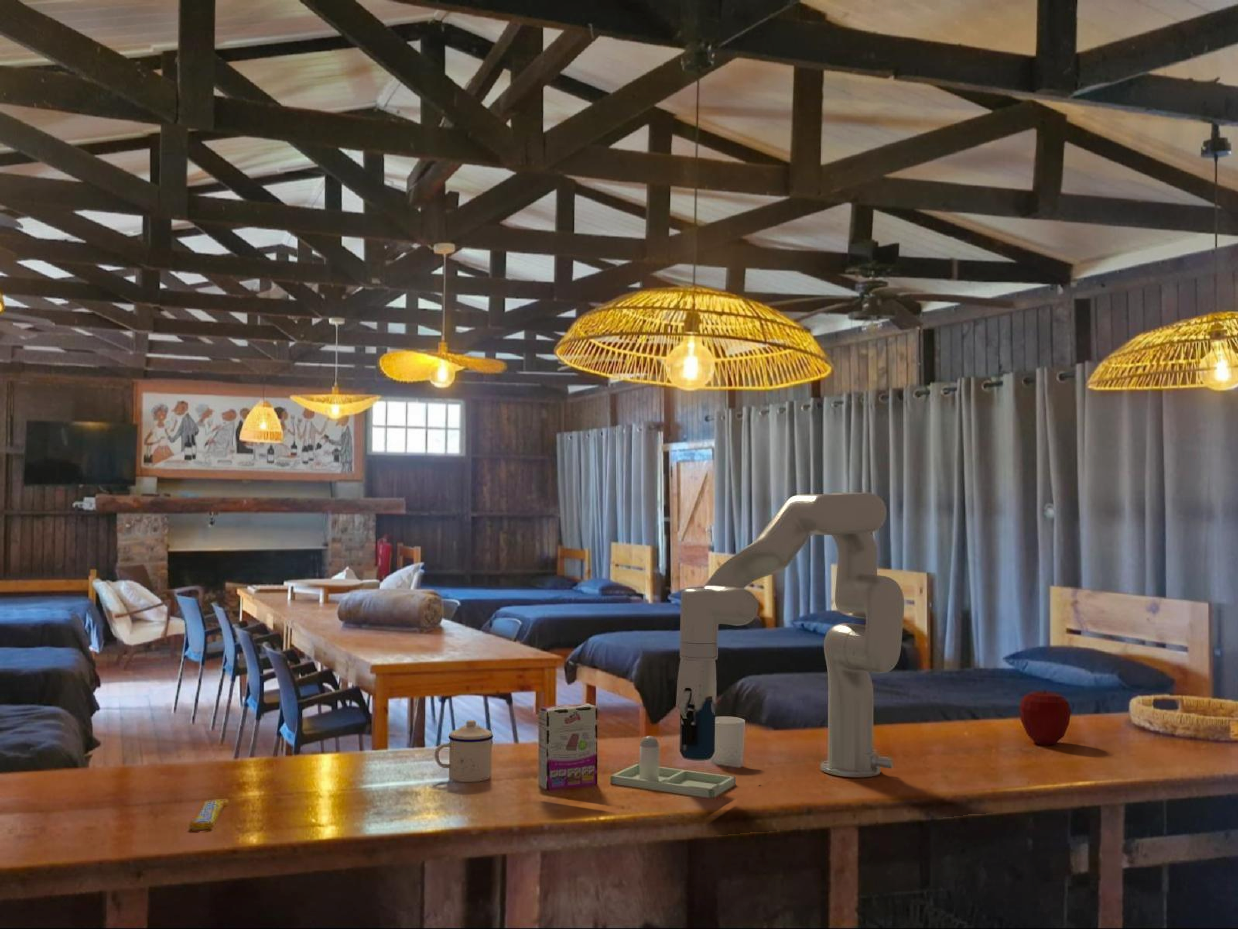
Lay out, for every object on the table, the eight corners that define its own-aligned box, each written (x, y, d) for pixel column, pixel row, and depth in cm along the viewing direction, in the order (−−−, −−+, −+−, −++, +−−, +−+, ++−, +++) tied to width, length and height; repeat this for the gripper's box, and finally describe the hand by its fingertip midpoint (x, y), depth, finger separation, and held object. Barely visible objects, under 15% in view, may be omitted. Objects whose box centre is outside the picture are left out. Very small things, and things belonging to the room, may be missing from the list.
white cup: (743, 771, 230) (743, 724, 230) (706, 769, 232) (706, 722, 232) (746, 763, 238) (746, 717, 238) (710, 760, 239) (711, 715, 240)
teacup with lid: (485, 771, 227) (486, 715, 228) (497, 781, 219) (498, 723, 219) (429, 775, 223) (430, 718, 223) (439, 786, 214) (440, 727, 215)
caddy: (735, 789, 215) (735, 776, 215) (712, 803, 204) (712, 790, 204) (636, 775, 225) (637, 763, 225) (610, 788, 214) (610, 775, 214)
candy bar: (213, 833, 183) (213, 822, 183) (186, 834, 182) (187, 823, 182) (228, 806, 199) (228, 796, 199) (204, 807, 198) (204, 797, 198)
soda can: (720, 757, 213) (721, 696, 214) (704, 763, 207) (705, 700, 208) (689, 752, 217) (690, 692, 217) (673, 758, 211) (674, 696, 212)
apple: (1079, 749, 257) (1079, 693, 257) (1030, 748, 257) (1030, 692, 257) (1059, 738, 269) (1059, 685, 269) (1012, 737, 269) (1012, 684, 269)
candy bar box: (587, 783, 218) (588, 702, 218) (598, 789, 213) (599, 706, 214) (536, 789, 212) (537, 706, 213) (546, 795, 208) (547, 710, 209)
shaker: (662, 779, 218) (662, 735, 218) (653, 784, 214) (654, 738, 214) (644, 777, 219) (644, 733, 220) (635, 781, 216) (636, 736, 216)
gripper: (698, 645, 223) (697, 732, 222) (663, 654, 207) (661, 747, 206) (732, 648, 219) (731, 736, 218) (699, 657, 204) (697, 752, 203)
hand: (697, 741), depth 212 cm, fingers closed on soda can, 6 cm apart
